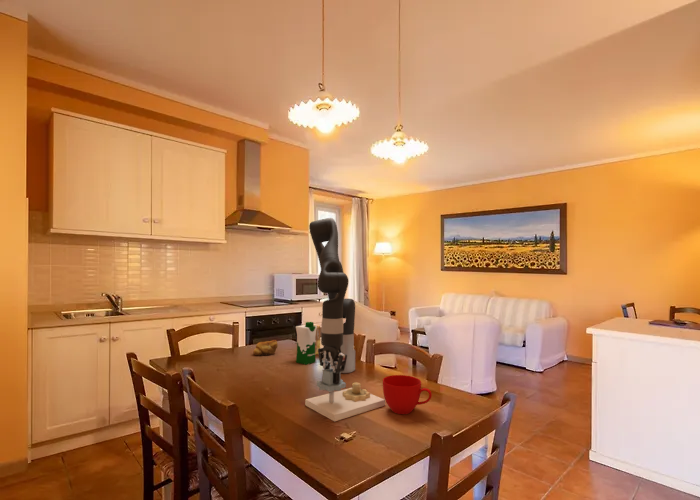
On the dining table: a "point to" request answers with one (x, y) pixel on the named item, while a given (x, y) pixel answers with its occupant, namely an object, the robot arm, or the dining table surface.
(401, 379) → the ceramic cup
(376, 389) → the dining table surface
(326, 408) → the carrier plate
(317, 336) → the candy box
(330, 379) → the planet gear
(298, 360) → the milk carton
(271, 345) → the bread roll
